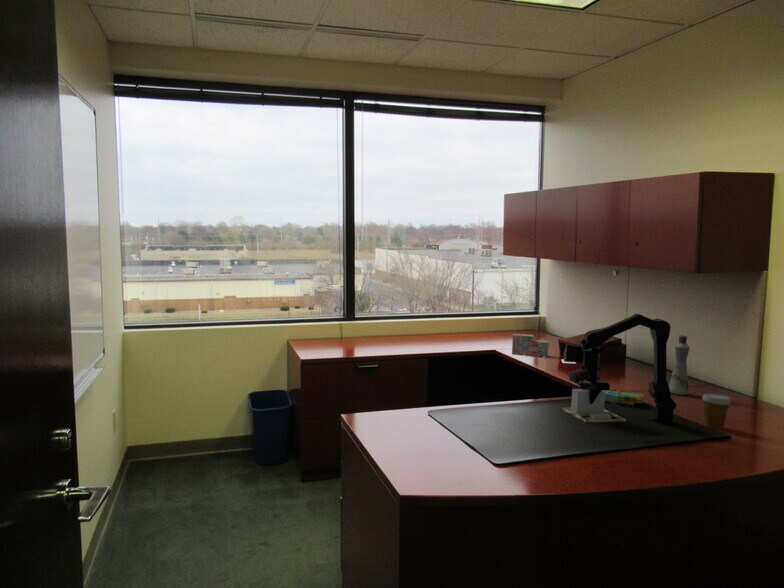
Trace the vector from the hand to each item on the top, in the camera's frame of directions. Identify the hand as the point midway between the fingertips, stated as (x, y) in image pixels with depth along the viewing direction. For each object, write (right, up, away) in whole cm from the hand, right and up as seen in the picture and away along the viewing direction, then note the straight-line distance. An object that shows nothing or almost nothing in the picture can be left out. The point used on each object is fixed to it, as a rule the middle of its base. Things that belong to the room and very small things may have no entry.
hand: (587, 402), depth 229 cm
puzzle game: (+21, -5, +25) cm, 34 cm away
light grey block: (0, -4, 0) cm, 4 cm away
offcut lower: (+2, -7, -8) cm, 10 cm away
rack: (+1, -6, -3) cm, 7 cm away
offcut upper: (+2, -5, -8) cm, 9 cm away
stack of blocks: (+7, +5, +127) cm, 128 cm away
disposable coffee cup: (+46, -8, -7) cm, 47 cm away
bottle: (+57, -4, +46) cm, 74 cm away
